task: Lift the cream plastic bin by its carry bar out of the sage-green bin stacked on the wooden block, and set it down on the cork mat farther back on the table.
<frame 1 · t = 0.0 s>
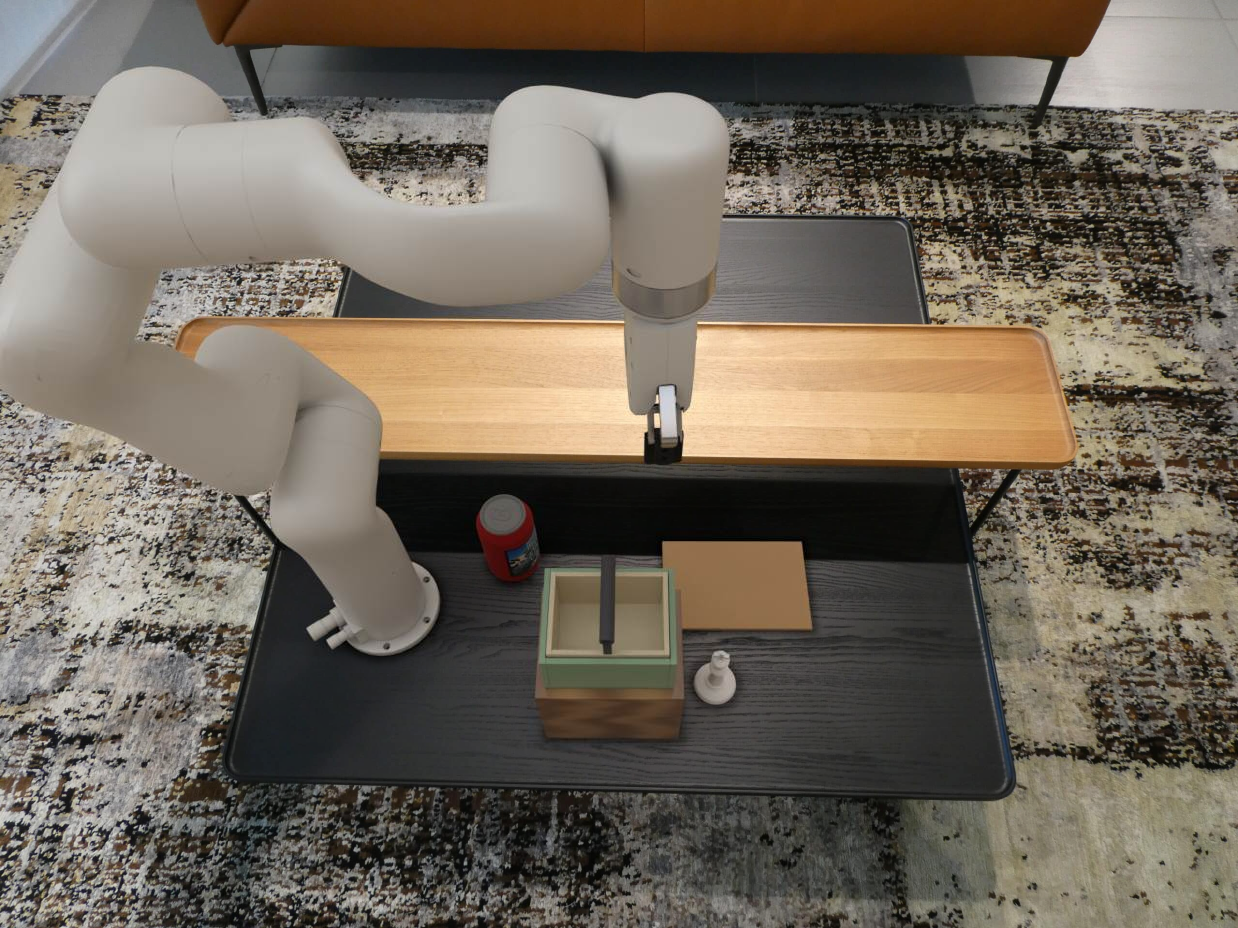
hand: (658, 415, 75), 37 cm above the table, tool pointing down, fingers open, 9 cm apart
green bin: (610, 641, 87), point 14 cm above the table, touching wooden block, cream bin
cream bin: (610, 639, 87), point 15 cm above the table, touching green bin
wooden block: (613, 686, 99), on the table
cork mat: (734, 585, 106), on the table
chess piece: (714, 684, 99), on the table
beverage can: (514, 561, 109), on the table
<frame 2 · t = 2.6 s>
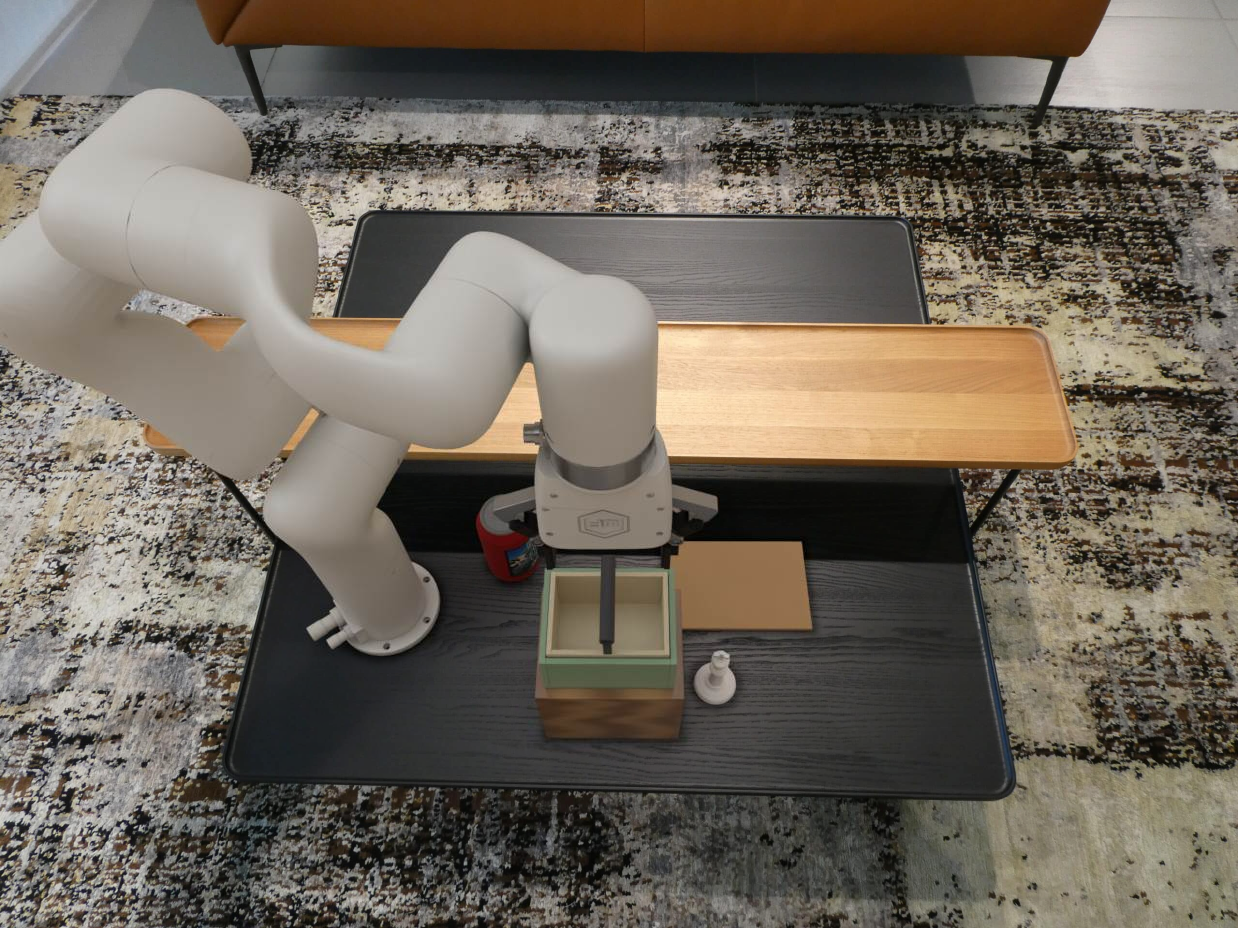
hand: (608, 554, 71), 33 cm above the table, tool pointing down, fingers open, 9 cm apart
nothing on the table moved.
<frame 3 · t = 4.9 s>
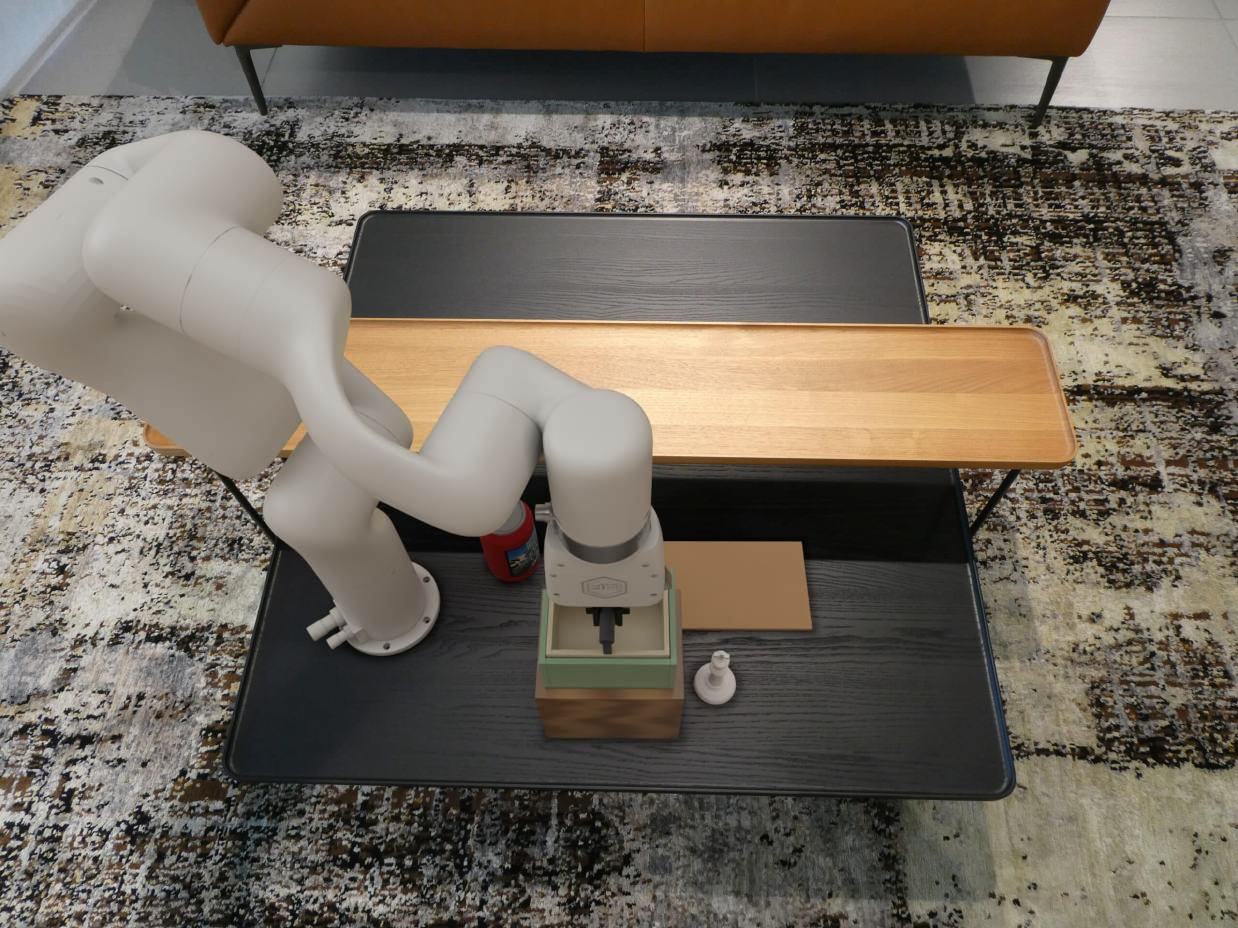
hand: (608, 611, 81), 22 cm above the table, tool pointing down, fingers closed on cream bin
cream bin: (610, 639, 87), point 15 cm above the table, touching green bin, gripper
everything else where it was.
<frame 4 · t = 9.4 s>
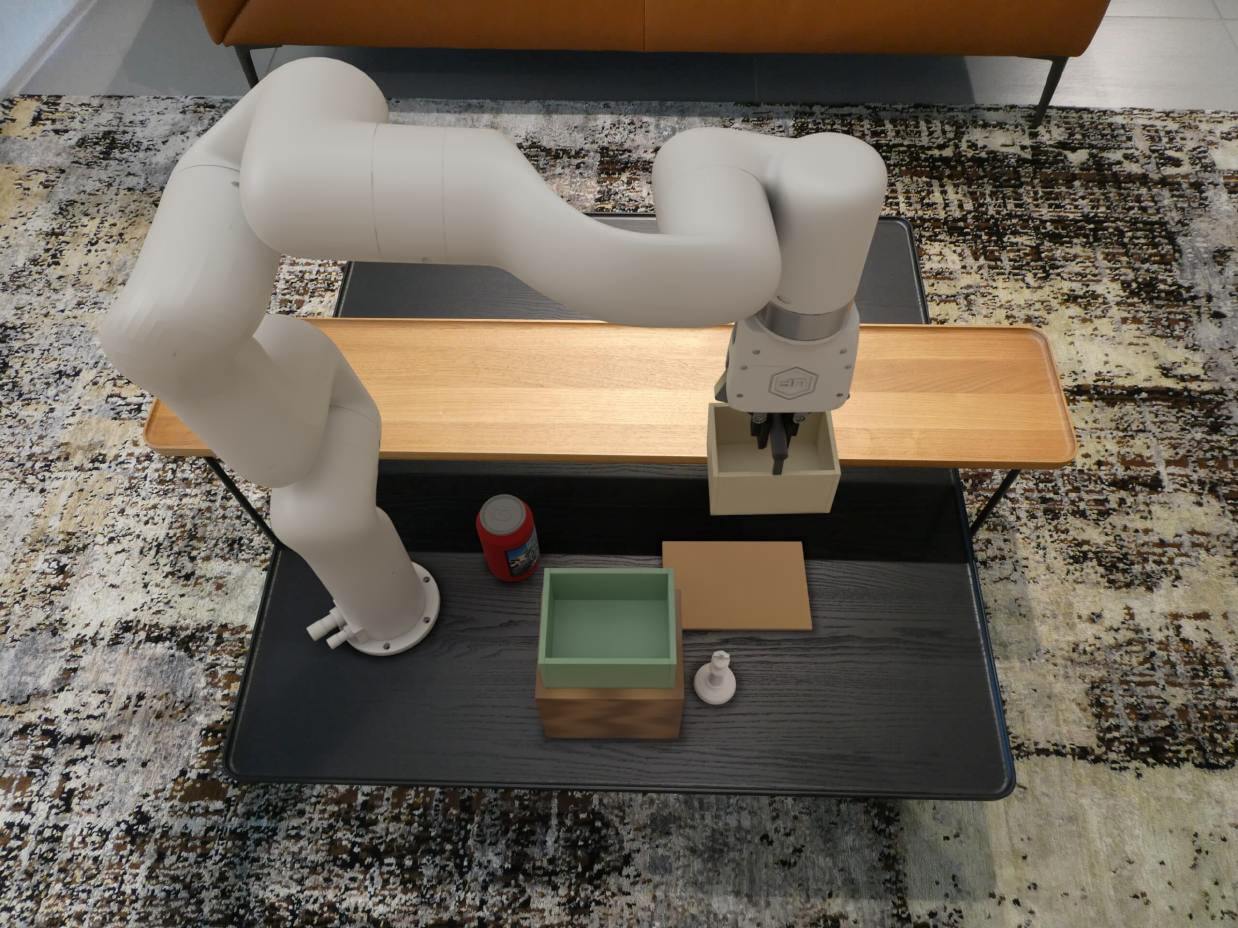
hand: (771, 436, 79), 32 cm above the table, tool pointing down, fingers closed on cream bin
green bin: (609, 641, 87), point 14 cm above the table, touching wooden block
cream bin: (766, 477, 85), point 25 cm above the table, touching gripper
everything else where it was.
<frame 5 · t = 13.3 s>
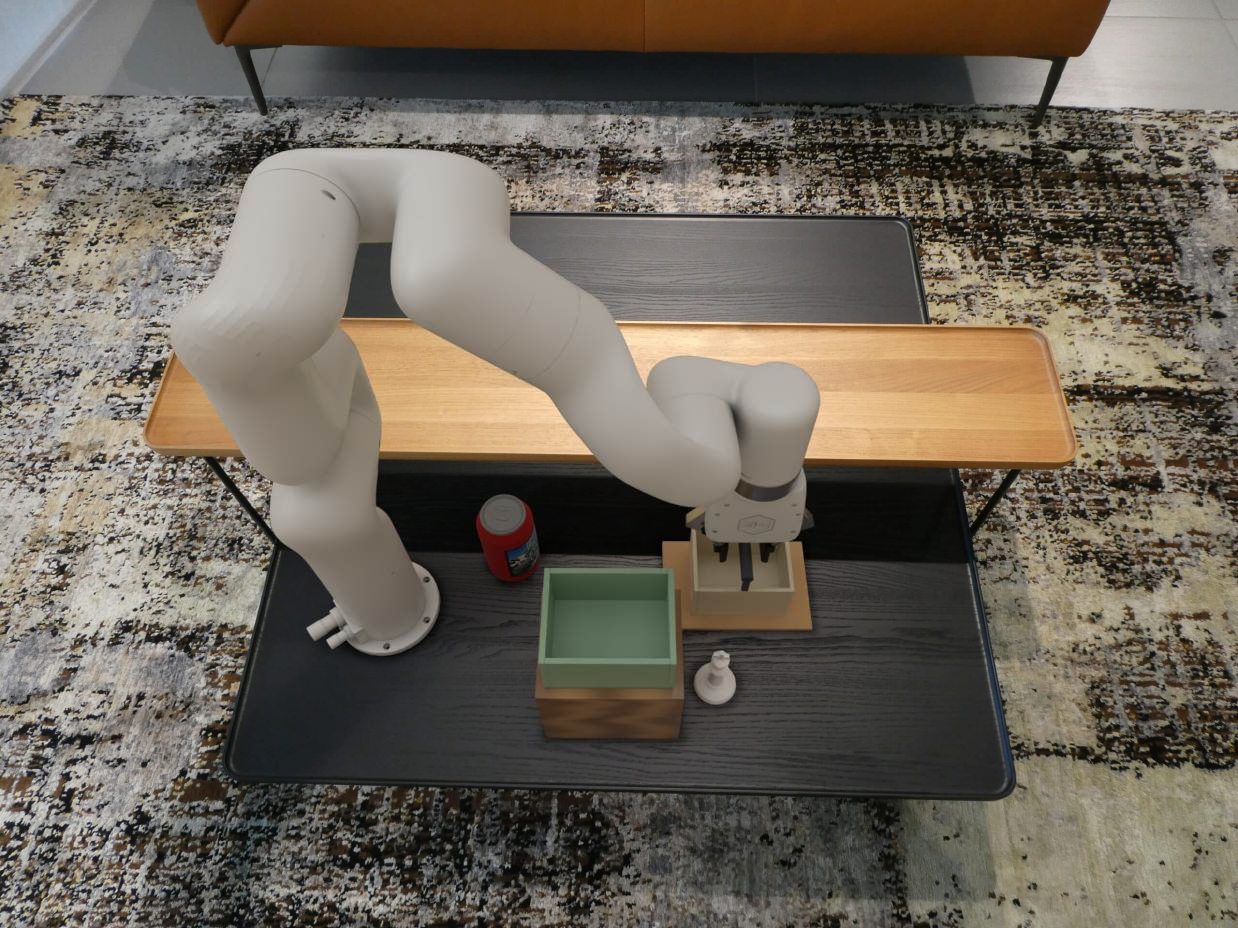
hand: (742, 550, 98), 9 cm above the table, tool pointing down, fingers open, 4 cm apart
cream bin: (736, 583, 106), point 1 cm above the table, touching cork mat
everything else where it was.
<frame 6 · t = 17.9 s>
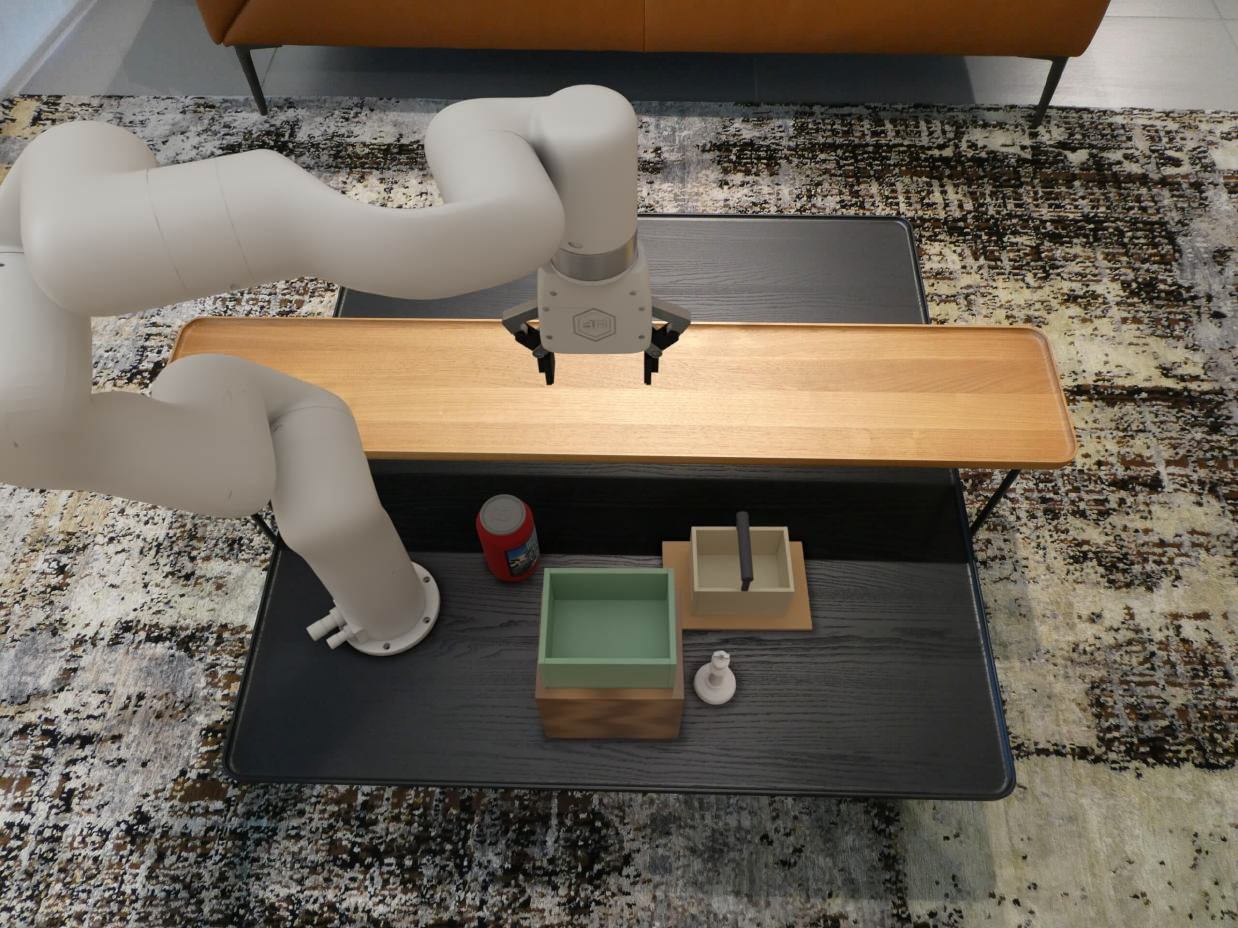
hand: (599, 374, 84), 32 cm above the table, tool pointing down, fingers open, 9 cm apart
nothing on the table moved.
at the end: cream bin inside the target area on the cork mat (0.1 cm from its centre), point 0.6 cm above the cork mat's base; cream bin tilted 0°; green bin moved 0.0 cm from its start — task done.
